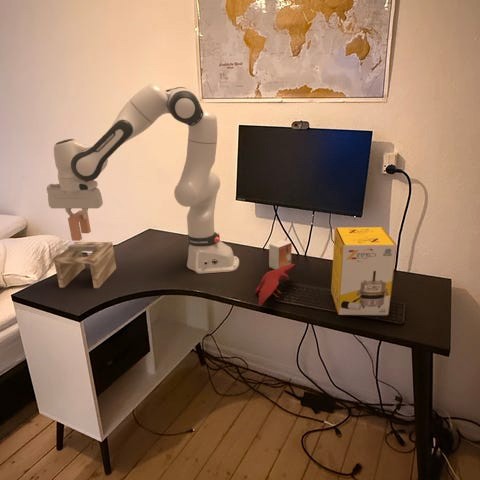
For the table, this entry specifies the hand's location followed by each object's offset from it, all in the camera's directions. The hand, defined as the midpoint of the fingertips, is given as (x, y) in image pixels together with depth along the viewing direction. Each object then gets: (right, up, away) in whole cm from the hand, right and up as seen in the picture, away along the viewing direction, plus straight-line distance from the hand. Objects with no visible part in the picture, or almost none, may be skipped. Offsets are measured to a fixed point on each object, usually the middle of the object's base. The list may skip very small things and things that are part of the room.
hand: (78, 218), depth 157 cm
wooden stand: (+1, -24, +9) cm, 25 cm away
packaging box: (+104, -30, -16) cm, 109 cm away
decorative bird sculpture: (+74, -29, -9) cm, 80 cm away
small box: (+80, -19, +14) cm, 83 cm away
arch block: (0, -7, +3) cm, 7 cm away
